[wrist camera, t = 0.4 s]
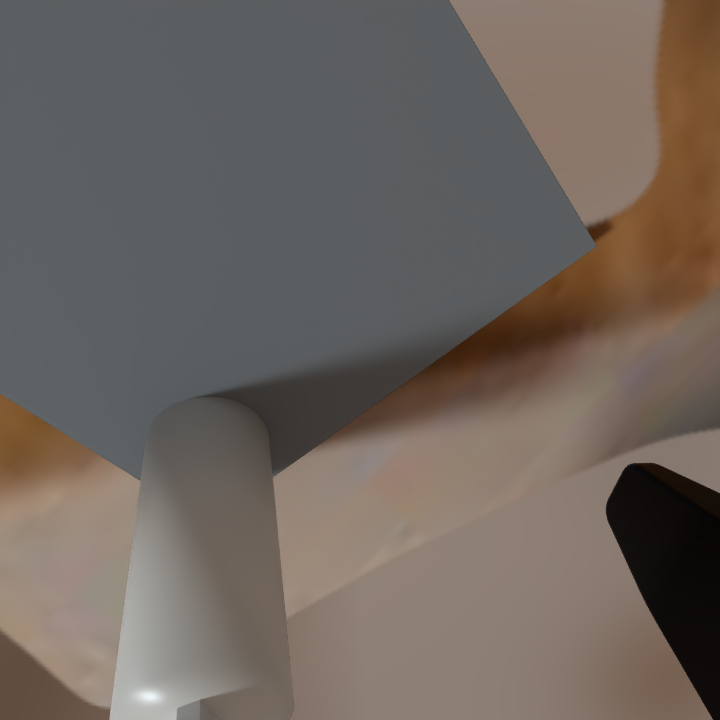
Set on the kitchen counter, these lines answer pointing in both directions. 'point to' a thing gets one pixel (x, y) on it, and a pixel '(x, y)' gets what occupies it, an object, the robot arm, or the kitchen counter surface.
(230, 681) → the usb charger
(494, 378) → the kitchen counter surface
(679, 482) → the robot arm
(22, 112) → the desk mat
